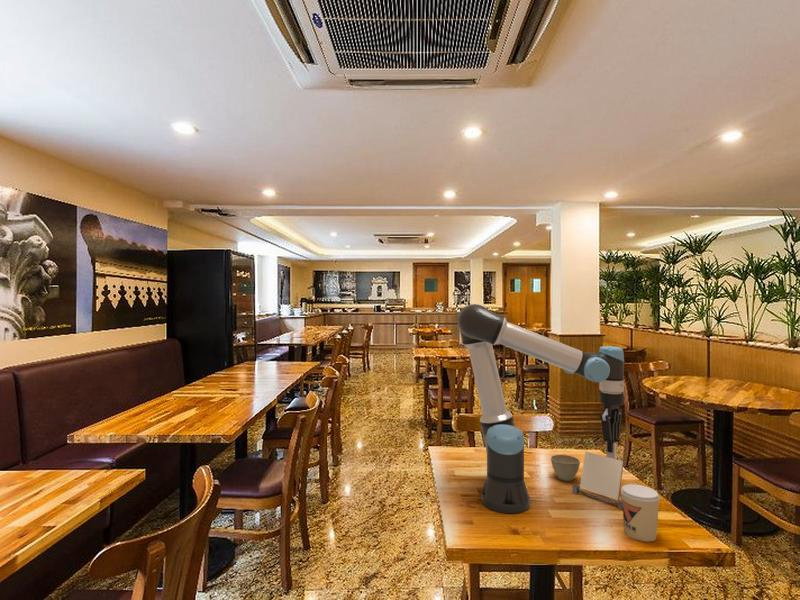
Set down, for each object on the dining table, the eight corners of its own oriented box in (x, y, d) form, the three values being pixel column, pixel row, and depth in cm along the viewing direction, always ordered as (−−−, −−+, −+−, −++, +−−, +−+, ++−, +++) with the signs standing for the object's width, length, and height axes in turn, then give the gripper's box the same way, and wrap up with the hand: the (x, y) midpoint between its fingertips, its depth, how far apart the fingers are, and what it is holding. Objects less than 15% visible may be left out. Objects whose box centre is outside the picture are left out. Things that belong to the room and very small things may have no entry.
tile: (618, 500, 137) (616, 499, 137) (581, 488, 146) (579, 487, 146) (623, 461, 140) (621, 460, 139) (587, 451, 149) (585, 451, 148)
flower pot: (584, 484, 154) (584, 463, 154) (556, 484, 154) (556, 463, 154) (573, 473, 164) (573, 454, 164) (547, 473, 164) (547, 454, 164)
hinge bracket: (623, 510, 134) (623, 502, 134) (572, 492, 147) (572, 485, 147) (626, 508, 136) (626, 500, 136) (575, 491, 148) (575, 484, 148)
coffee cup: (614, 526, 125) (614, 484, 125) (645, 524, 125) (645, 483, 126) (634, 543, 116) (633, 498, 116) (667, 542, 116) (667, 497, 116)
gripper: (614, 396, 142) (614, 468, 141) (630, 391, 150) (630, 459, 150) (592, 392, 147) (592, 462, 147) (608, 387, 156) (608, 453, 156)
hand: (611, 460), depth 149 cm, fingers closed
